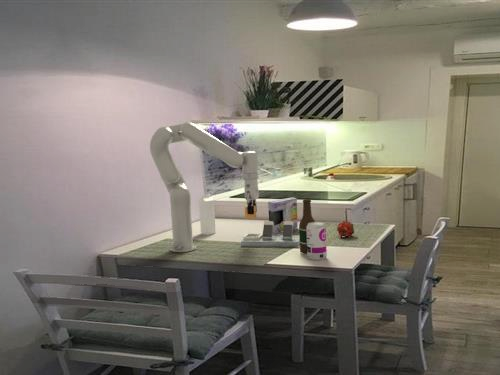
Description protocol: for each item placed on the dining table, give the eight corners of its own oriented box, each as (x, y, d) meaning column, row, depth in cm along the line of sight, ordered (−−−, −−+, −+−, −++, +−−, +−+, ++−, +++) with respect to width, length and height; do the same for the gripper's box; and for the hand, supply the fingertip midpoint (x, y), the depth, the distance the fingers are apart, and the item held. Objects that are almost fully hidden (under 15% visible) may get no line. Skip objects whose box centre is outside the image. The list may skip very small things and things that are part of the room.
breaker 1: (271, 238, 228) (273, 221, 233) (261, 237, 229) (263, 221, 234) (272, 240, 230) (274, 223, 235) (262, 239, 231) (264, 223, 236)
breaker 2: (291, 238, 225) (293, 221, 230) (281, 238, 227) (283, 221, 231) (292, 240, 227) (293, 223, 232) (282, 240, 228) (284, 223, 233)
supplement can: (330, 257, 201) (329, 222, 200) (319, 261, 195) (318, 226, 194) (314, 254, 207) (313, 221, 205) (303, 258, 201) (302, 224, 199)
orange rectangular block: (254, 218, 230) (253, 206, 229) (245, 218, 231) (244, 206, 230) (256, 217, 234) (255, 205, 233) (247, 217, 235) (247, 205, 234)
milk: (215, 233, 262) (214, 194, 259) (207, 235, 258) (205, 195, 255) (209, 231, 266) (207, 193, 264) (200, 233, 262) (198, 194, 260)
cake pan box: (273, 234, 252) (272, 202, 250) (267, 233, 256) (265, 201, 254) (298, 228, 264) (297, 197, 262) (292, 227, 268) (291, 197, 266)
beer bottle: (315, 249, 216) (313, 197, 213) (318, 253, 208) (316, 200, 206) (298, 250, 216) (297, 198, 213) (301, 254, 208) (299, 201, 205)
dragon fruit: (348, 236, 245) (346, 245, 234) (334, 227, 246) (332, 235, 235) (357, 224, 242) (356, 232, 231) (343, 215, 243) (341, 222, 232)
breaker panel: (298, 247, 221) (297, 239, 221) (241, 246, 228) (240, 238, 228) (302, 240, 235) (302, 232, 234) (248, 239, 242) (248, 232, 241)
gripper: (253, 178, 221) (255, 216, 223) (261, 174, 237) (263, 210, 239) (238, 178, 223) (240, 216, 225) (247, 175, 239) (249, 210, 241)
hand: (252, 212), depth 232 cm, fingers closed on orange rectangular block, 4 cm apart
